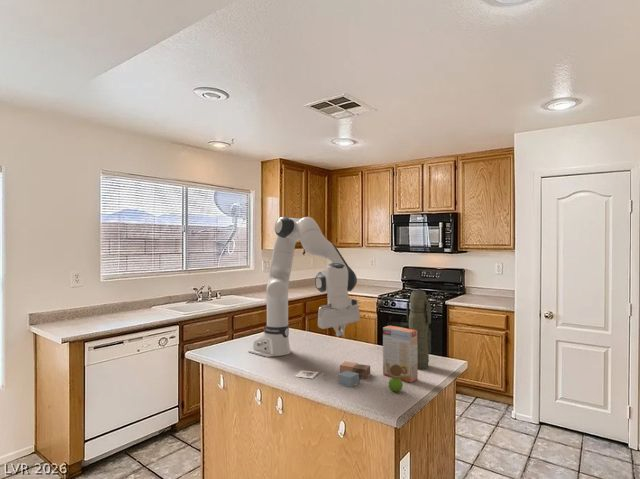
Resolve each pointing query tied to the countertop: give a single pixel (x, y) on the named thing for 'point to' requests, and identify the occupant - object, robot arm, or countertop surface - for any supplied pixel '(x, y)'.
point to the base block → (362, 370)
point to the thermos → (420, 324)
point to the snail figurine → (394, 377)
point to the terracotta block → (347, 366)
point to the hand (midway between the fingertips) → (340, 335)
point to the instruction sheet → (306, 374)
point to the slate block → (348, 378)
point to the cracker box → (400, 351)
